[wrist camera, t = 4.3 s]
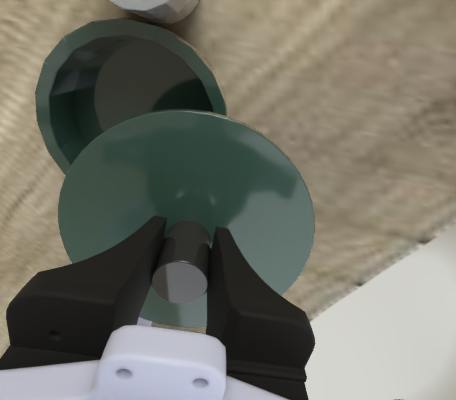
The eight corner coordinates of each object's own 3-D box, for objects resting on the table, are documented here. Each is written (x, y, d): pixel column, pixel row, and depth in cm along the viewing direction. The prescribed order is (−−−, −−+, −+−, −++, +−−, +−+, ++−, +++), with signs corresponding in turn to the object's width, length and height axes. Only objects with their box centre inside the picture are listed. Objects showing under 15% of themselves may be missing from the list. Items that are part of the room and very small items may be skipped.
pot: (153, 213, 26) (141, 239, 22) (34, 108, 22) (-3, 119, 18) (258, 123, 22) (265, 136, 19) (141, -20, 18) (121, -38, 15)
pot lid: (190, 341, 21) (182, 409, 17) (19, 221, 16) (-46, 276, 12) (355, 235, 17) (394, 291, 13) (189, 37, 12) (173, 34, 8)
